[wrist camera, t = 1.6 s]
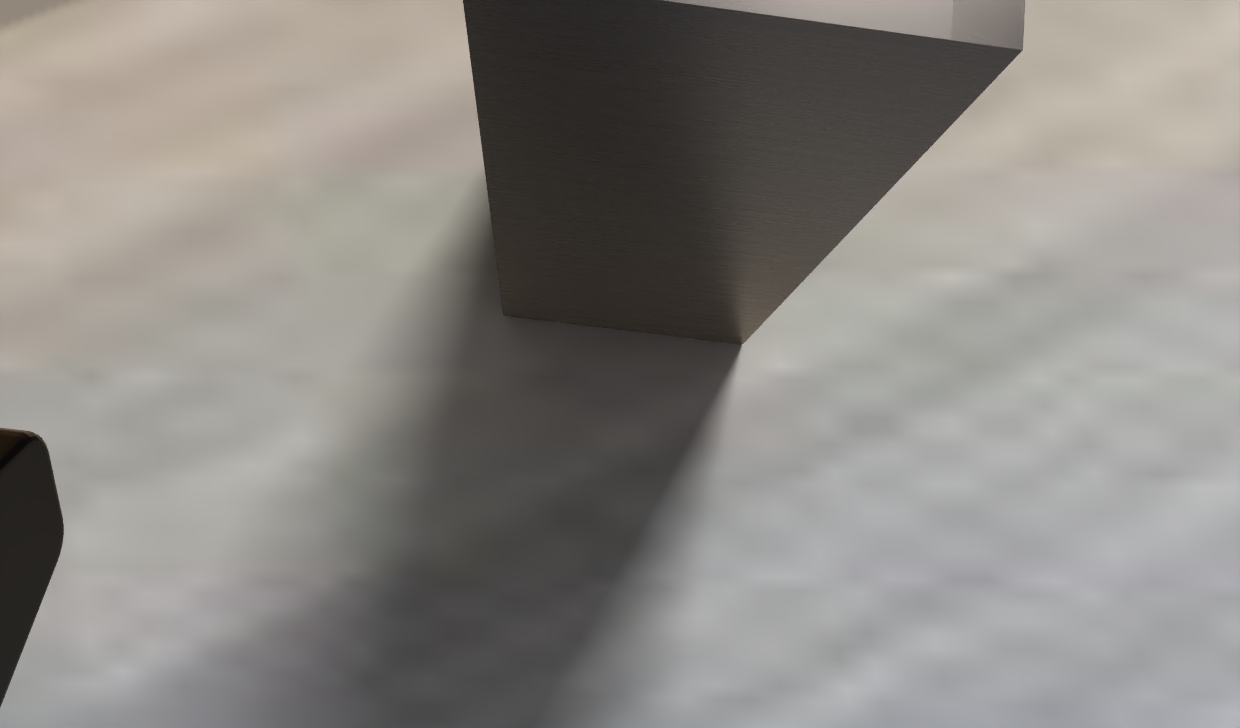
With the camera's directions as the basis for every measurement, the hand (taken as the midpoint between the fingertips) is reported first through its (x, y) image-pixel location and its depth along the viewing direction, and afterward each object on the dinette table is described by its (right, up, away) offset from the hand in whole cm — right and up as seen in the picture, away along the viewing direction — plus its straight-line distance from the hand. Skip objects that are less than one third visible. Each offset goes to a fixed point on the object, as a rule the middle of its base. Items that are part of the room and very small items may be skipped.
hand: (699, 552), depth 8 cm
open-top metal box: (0, +4, +14) cm, 14 cm away
